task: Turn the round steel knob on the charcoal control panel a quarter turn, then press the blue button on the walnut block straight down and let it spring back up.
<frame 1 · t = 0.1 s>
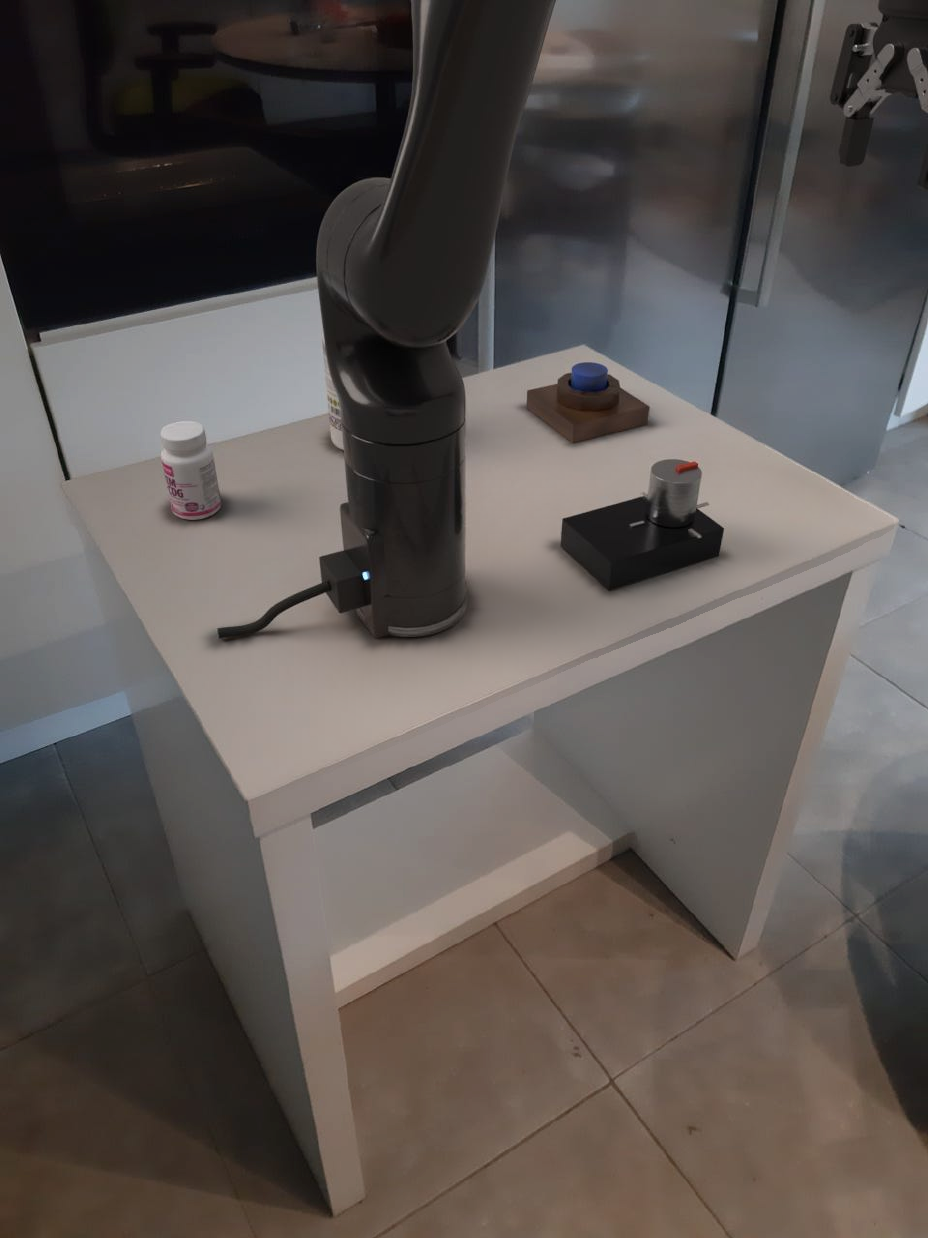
hand: (888, 175, 82), 29 cm above the table, tool pointing down, fingers open, 8 cm apart
knob: (673, 491, 87), point 5 cm above the table, hinge at 0.0°
pill bottle: (197, 510, 96), on the table
button: (589, 377, 109), point 5 cm above the table, slide at 0.1 cm
bath foam: (363, 442, 107), on the table
button block: (586, 415, 112), on the table
panel: (639, 551, 90), on the table
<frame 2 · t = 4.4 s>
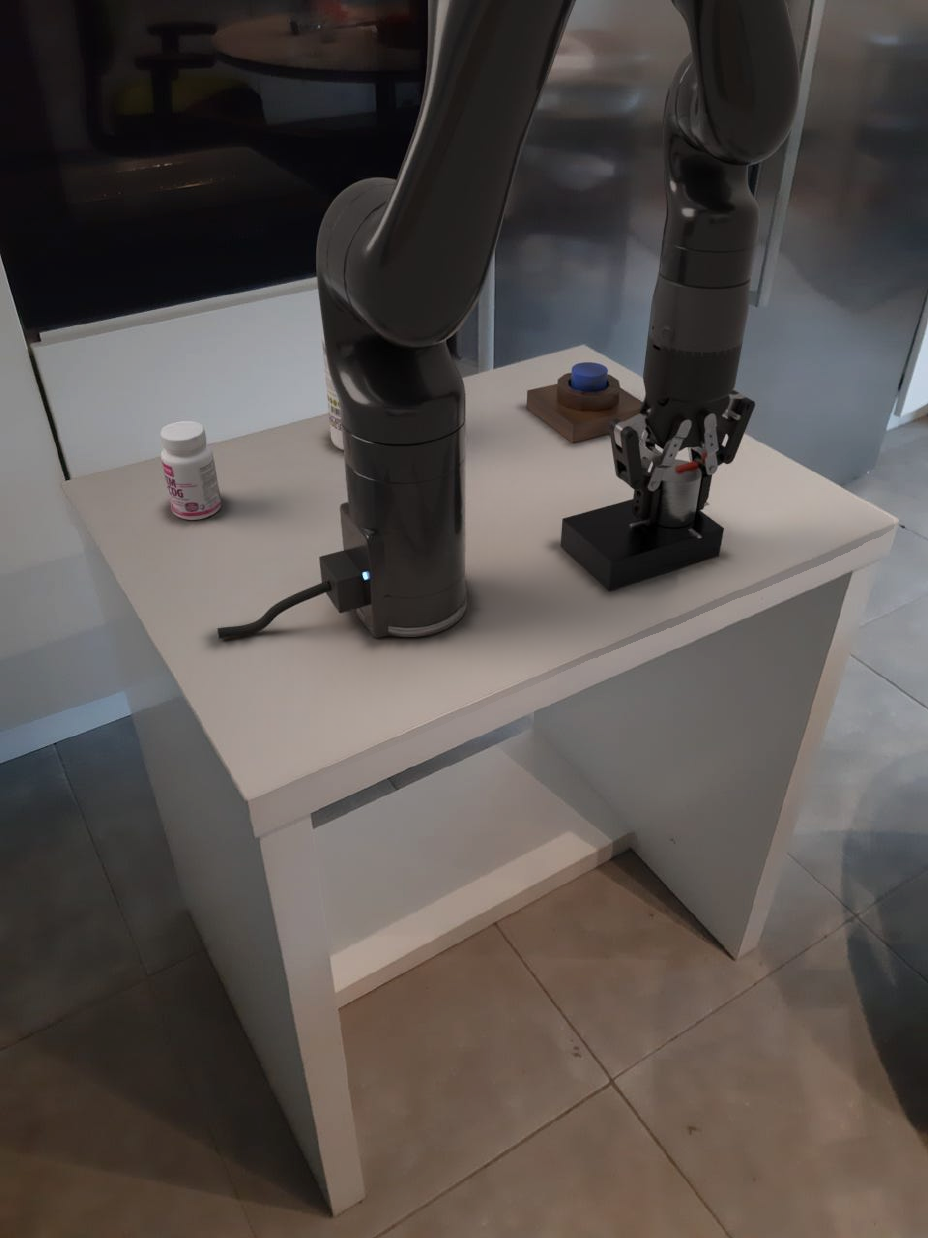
hand: (668, 513, 89), 3 cm above the table, tool pointing down, fingers open, 4 cm apart
knob: (673, 491, 87), point 5 cm above the table, hinge at 0.0°, touching gripper
everything else where it was.
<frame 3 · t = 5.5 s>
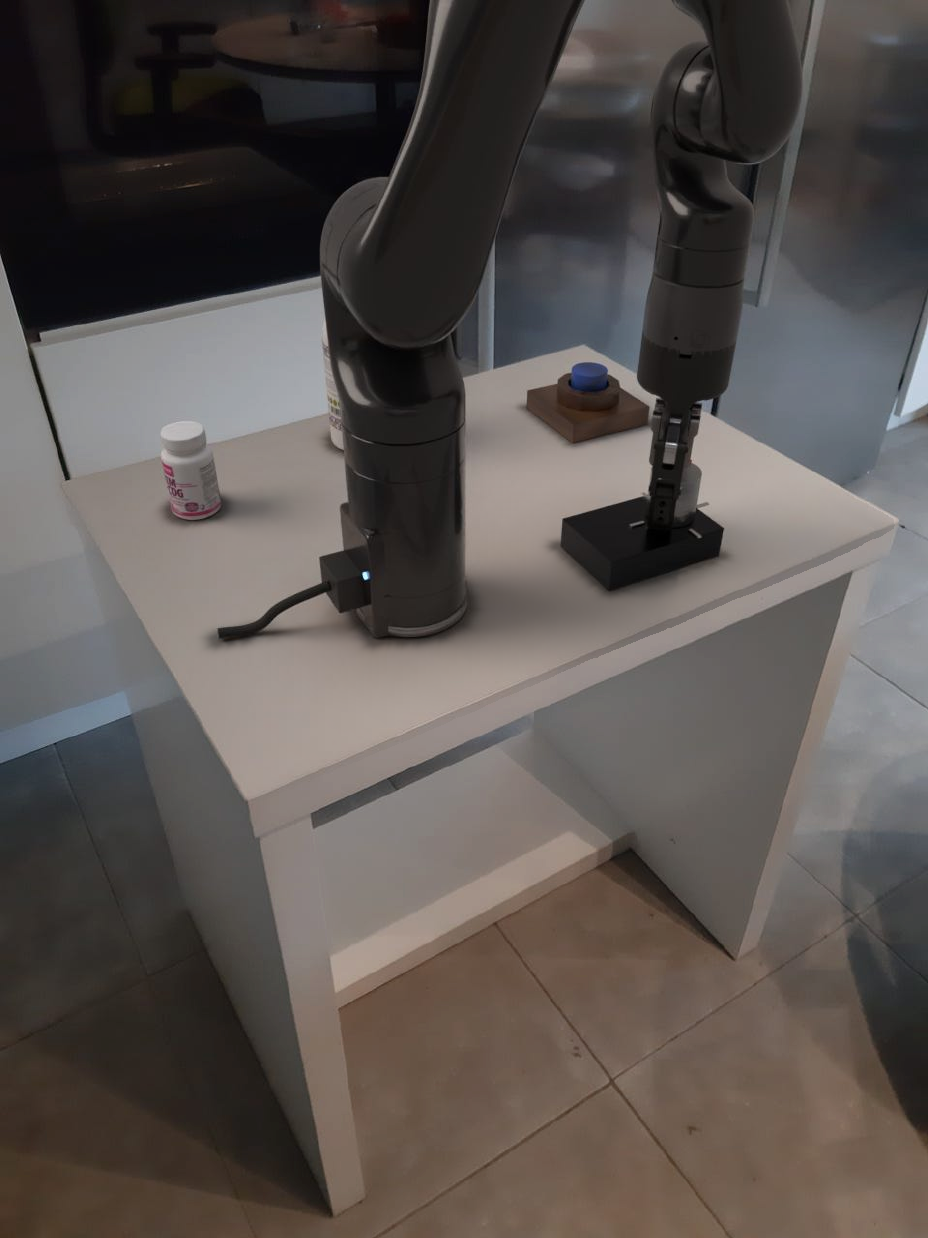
hand: (661, 513, 89), 3 cm above the table, tool pointing down, fingers closed on knob, 4 cm apart
knob: (673, 491, 87), point 5 cm above the table, hinge at 23.0°, touching gripper
everything else where it was.
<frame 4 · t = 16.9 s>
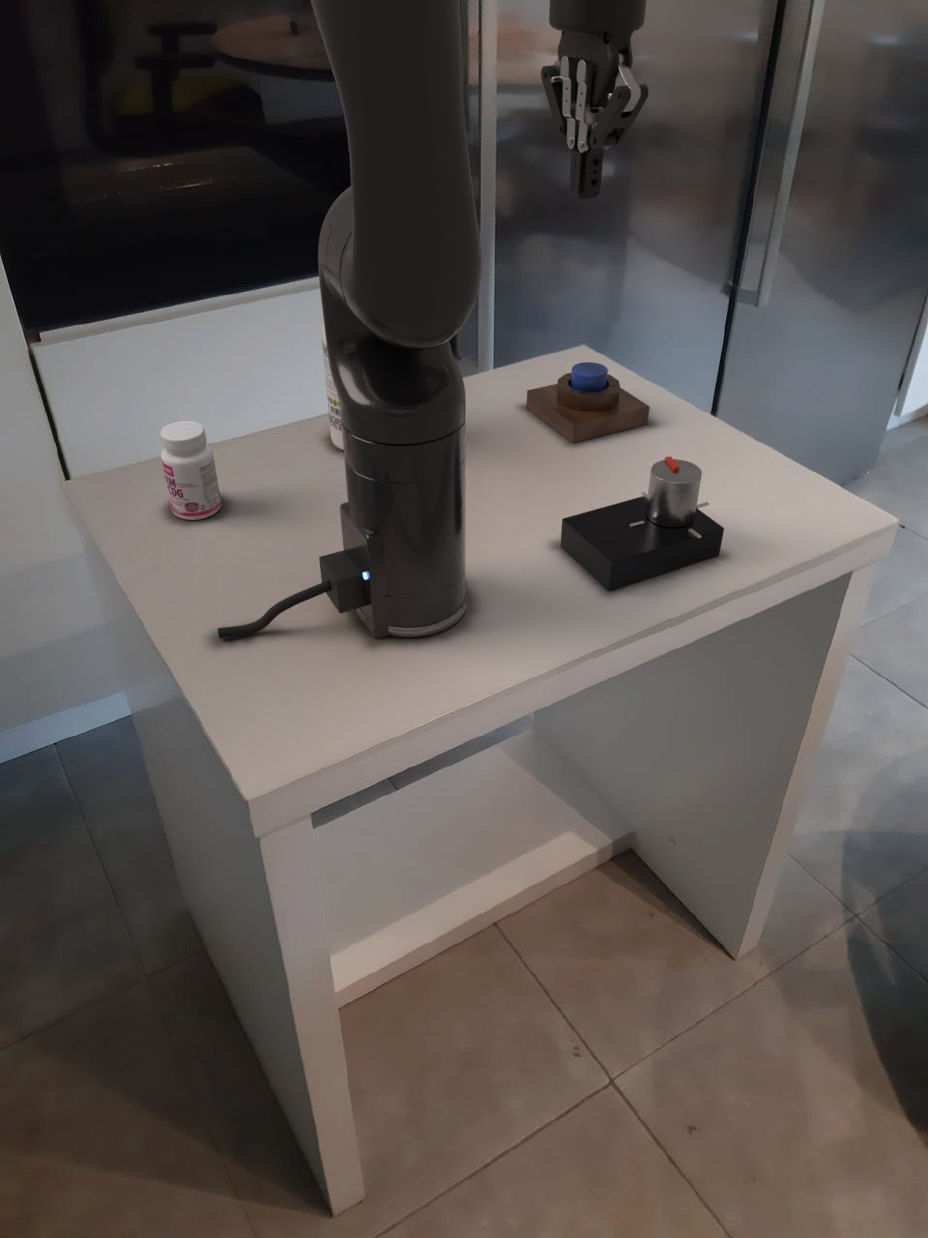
hand: (584, 195, 85), 27 cm above the table, tool pointing down, fingers closed
knob: (673, 491, 87), point 5 cm above the table, hinge at 74.4°
everything else where it was.
at the end: knob at +74° (first picture: +0°); button pushed in 1.1 cm at the most during the clip, back to where it started at the end; button slide at 0.1 cm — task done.
